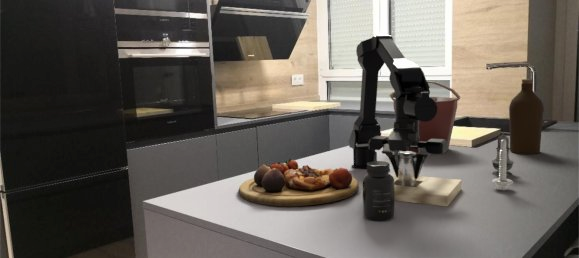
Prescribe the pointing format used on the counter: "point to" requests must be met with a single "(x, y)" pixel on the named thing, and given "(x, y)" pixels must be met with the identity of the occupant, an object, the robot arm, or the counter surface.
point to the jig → (428, 191)
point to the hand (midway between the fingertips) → (407, 177)
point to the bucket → (438, 118)
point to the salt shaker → (497, 161)
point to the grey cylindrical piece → (406, 168)
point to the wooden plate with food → (297, 185)
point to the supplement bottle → (378, 192)
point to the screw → (502, 169)
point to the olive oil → (526, 120)
